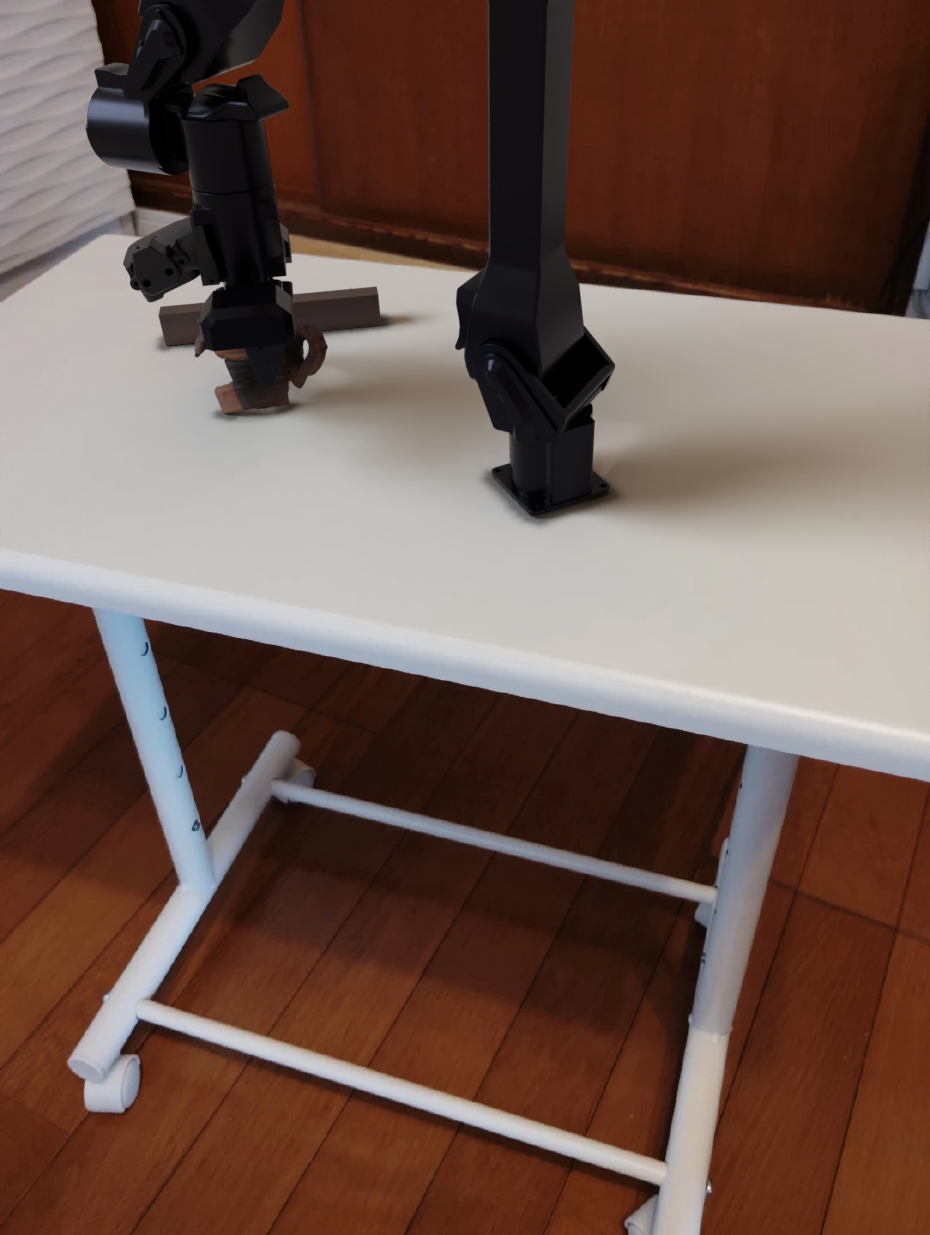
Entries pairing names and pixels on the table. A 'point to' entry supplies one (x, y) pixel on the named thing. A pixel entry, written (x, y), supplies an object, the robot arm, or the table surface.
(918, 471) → the table surface
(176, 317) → the rail
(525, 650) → the table surface
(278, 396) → the pottery mug
